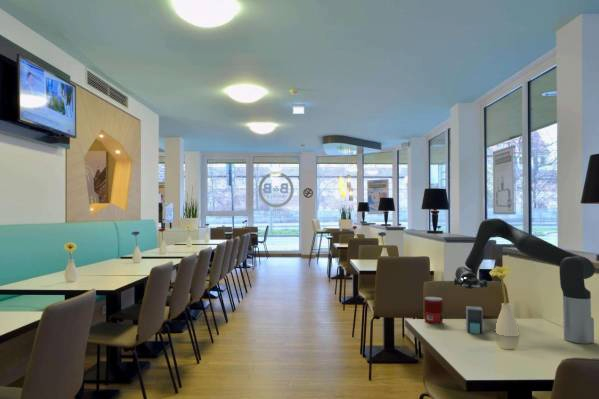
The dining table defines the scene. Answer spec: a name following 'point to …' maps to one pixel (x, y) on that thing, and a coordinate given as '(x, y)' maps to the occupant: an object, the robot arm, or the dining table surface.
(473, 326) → the teal block
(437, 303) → the canned food
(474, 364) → the dining table surface
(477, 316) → the tall grey pillar block
